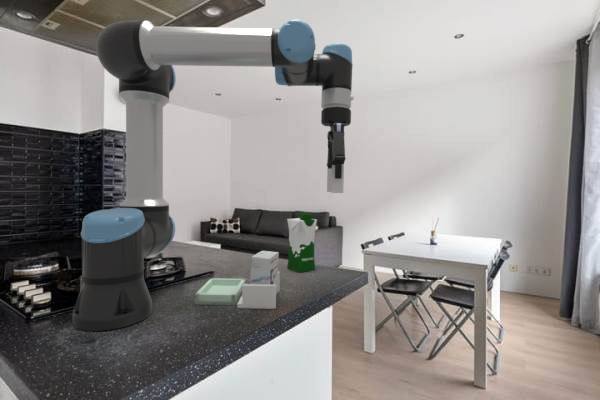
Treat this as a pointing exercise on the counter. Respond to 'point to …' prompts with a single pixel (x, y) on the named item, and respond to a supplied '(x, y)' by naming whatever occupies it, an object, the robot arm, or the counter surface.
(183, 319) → the counter surface
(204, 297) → the tray
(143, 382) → the counter surface
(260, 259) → the ink box
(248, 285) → the bay
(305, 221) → the milk carton
